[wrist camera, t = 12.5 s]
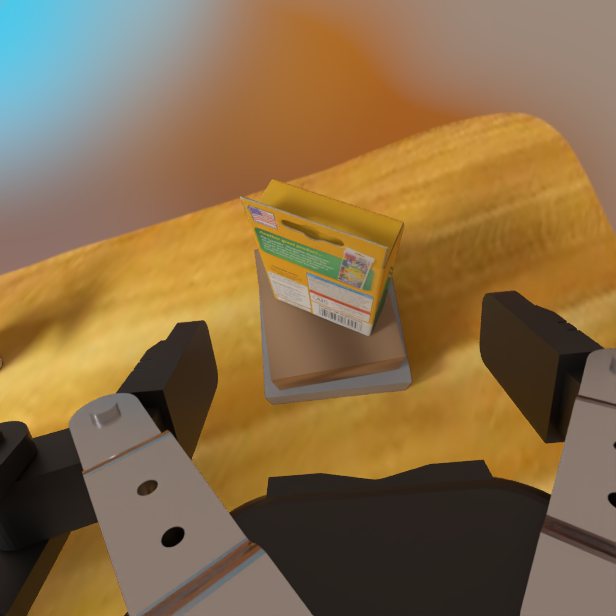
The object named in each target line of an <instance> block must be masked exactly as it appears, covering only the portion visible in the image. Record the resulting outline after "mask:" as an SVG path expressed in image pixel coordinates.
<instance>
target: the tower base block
mask: <svg viewBox="0 0 616 616" xmlns="http://www.w3.org/2000/svg"><path fill="white" fill-rule="evenodd" d="M388 291H389V295H390V299H391V303H392V307H393V311H394V314H395V318H396V322H397V326H398V330H399V334H400V338H401V341H402V345H403V349H404V353H405V358H404V360H403V361H402V363H401V365H400V366H399V368H398V370H393V371H387V372H382V373H376V374H371V375H365V376H359V377H354V378H348V379H342V380H337V381H331V382H326V383H320V384H314V385H309V386H303V387H297V388H292V389H286V390H281V391H279V389H278V388H277V387H276V386H275V384H274V383H273V382H272V381H271V375H270V367H269V360H268V352H267V344H266V336H265V329H264V321H263V313H262V305H261V298H260V314H261V332H262V350H263V369H264V387H265V398H266V399H267V400H268V401H269V402H270V403H271V404H272V405H273V404H282V403H291V402H301V401H310V400H319V399H328V398H338V397H347V396H356V395H365V394H375V393H384V392H393V391H402V390H406V389H407V387H408V386H409V385H410V384H411V382H412V379H411V374H410V368H409V363H408V358H407V353H406V347H405V342H404V337H403V332H402V326H401V321H400V316H399V311H398V305H397V300H396V295H395V290H394V285H393V279H392V275H391V279H390V283H389V288H388ZM259 295H260V290H259Z"/></svg>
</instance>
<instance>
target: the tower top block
mask: <svg viewBox="0 0 616 616" xmlns="http://www.w3.org/2000/svg"><path fill="white" fill-rule="evenodd" d="M254 251H255V259H256V267H257V274H258V282H259V290H260V298H261V305H262V313H263V321H264V329H265V336H266V344H267V352H268V360H269V367H270V375H271V381H272V382H273V383H274V384H275V386H276V387H277V388H278V389H279V391H281V390H286V389H292V388H297V387H303V386H309V385H314V384H320V383H326V382H331V381H337V380H342V379H348V378H354V377H359V376H365V375H371V374H376V373H382V372H387V371H393V370H398V368H399V366H400V365H401V363H402V361H403V360H404V358H405V353H404V349H403V345H402V341H401V338H400V334H399V330H398V326H397V322H396V318H395V314H394V311H393V307H392V303H391V299H390V295H389V291H388V292H387V296H386V299H385V303H384V306H383V308H382V311H381V313H380V315H379V318H378V320H377V322H376V325H375V327H374V329H373V332H372V333H371V335H370V336H366V335H364V334H362V333H360V332H357V331H354V330H352V329H349V328H347V327H344V326H342V325H339V324H337V323H334V322H332V321H329V320H327V319H324V318H322V317H320V316H317V315H315V314H313V313H310V312H308V311H305V310H303V309H300V308H298V307H295V306H293V305H290V304H288V303H285V302H282V301H280V300H277V299H276V298H275V296H274V293H273V290H272V287H271V284H270V282H269V279H268V276H267V272H266V270H265V267H264V264H263V261H262V258H261V255H260V252H259V250H258V249H256V250H254Z"/></svg>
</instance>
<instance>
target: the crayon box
mask: <svg viewBox="0 0 616 616" xmlns="http://www.w3.org/2000/svg"><path fill="white" fill-rule="evenodd" d="M240 199H241V201H242V204H243V207H244V210H245V213H246V215H247V217H248V221H249V224H250V227H251V229H252V232H253V235H254V238H255V241H256V244H257V246H258V250H259V252H260V255H261V258H262V261H263V264H264V267H265V270H266V272H267V276H268V279H269V282H270V284H271V287H272V290H273V293H274V296H275V298H276V299H277V300H280V301H282V302H285V303H288V304H290V305H293V306H295V307H298V308H300V309H303V310H305V311H308V312H310V313H313V314H315V315H317V316H320V317H322V318H324V319H327V320H329V321H332V322H334V323H337V324H339V325H342V326H344V327H347V328H349V329H352V330H354V331H357V332H360V333H362V334H364V335H366V336H370V335H371V333H372V332H373V329H374V327H375V325H376V322H377V320H378V318H379V315H380V313H381V311H382V308H383V306H384V303H385V299H386V296H387V292H388V288H389V283H390V279H391V275H392V271H393V268H394V264H395V260H396V256H397V252H398V248H399V244H400V240H401V236H402V232H403V228H404V223H403V222H402V221H399V220H396V219H393V218H390V217H387V216H384V215H381V214H377V213H375V212H371V211H369V210H366V209H363V208H360V207H357V206H354V205H351V204H347V203H344V202H342V201H339V200H335V199H332V198H330V197H326V196H323V195H320V194H317V193H314V192H311V191H308V190H305V189H302V188H299V187H296V186H293V185H290V184H287V183H283V182H280V181H277V180H271V182H270V184H269V186H268V187H267V189H266V190H265V192H264V194H263V195H262V197H261V199H260V200H259V202H257V201H254V200H252V199H249V198H245V197H242V196H240Z"/></svg>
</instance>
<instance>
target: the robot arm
mask: <svg viewBox="0 0 616 616" xmlns="http://www.w3.org/2000/svg"><path fill="white" fill-rule="evenodd" d="M480 353H481V357H482V360H483V362H484V364H485V366H486V367H487V368H488V369H489V371H490V372H491V373H492V375H493V376H494V377H495V379H496V380H497V381H498V382H499V384H500V385H501V386H502V388H503V389H504V390H505V391H506V393H507V394H508V395H509V397H510V398H511V399H512V401H513V402H514V403H515V404H516V406H517V407H518V408H519V410H520V411H521V412H522V414H523V415H524V416H525V417H526V419H527V420H528V421H529V423H530V424H531V425H532V427H533V428H534V429H535V430H536V432H537V433H538V434H539V436H540V437H541V438H542V440H543V441H544V442H545V443H556V442H565V443H564V447H563V451H562V455H561V459H560V463H559V467H558V471H557V475H556V479H555V483H554V487H553V491H552V495H550V494H548V493H546V492H544V491H542V490H539V489H537V488H534V487H532V486H529V485H526V484H523V483H519V482H516V481H512V480H508V479H503V478H497V477H492V475H491V473H490V471H489V469H488V467H487V465H486V464H485V462H484V460H475V461H462V462H450V463H438V464H429V465H426V466H422V467H419V468H416V469H412V470H409V471H406V472H402V473H399V474H396V475H393V476H389V477H386V478H383V479H377V480H373V479H364V478H356V477H348V476H340V475H331V474H323V473H316V474H304V475H292V476H280V477H269V478H268V487H267V495H264V496H261V497H258V498H256V499H254V500H251V501H249V502H247V503H245V504H243V505H241V506H239V507H237V508H236V509H234V510H233V511H231V512H230V513H228V511H227V510H226V508H225V507H224V506H223V504H222V503H221V501H220V500H219V499H218V497H217V496H216V495H215V493H214V492H213V490H212V489H211V488H210V486H209V485H208V483H207V482H206V481H205V479H204V478H203V476H202V475H201V474H200V472H199V471H198V470H197V468H196V467H195V465H194V464H193V463H192V461H191V459H192V456H193V454H194V451H195V448H196V445H197V442H198V439H199V437H200V434H201V431H202V428H203V425H204V422H205V420H206V417H207V414H208V411H209V408H210V405H211V403H212V400H213V397H214V394H215V391H216V388H217V383H218V373H217V366H216V362H215V357H214V353H213V348H212V344H211V339H210V335H209V330H208V327H207V324H206V322H205V321H203V320H202V321H192V322H182V323H177V324H176V326H175V327H174V329H173V330H172V332H171V333H170V335H169V336H168V338H167V339H166V340H164V341H160V342H158V343H157V344H156V345H154V346H153V347H151V348H150V349H149V350H147V352H146V353H145V354H144V356H143V357H142V358H141V360H140V362H139V363H138V364H137V365H136V367H135V368H134V371H132V372H131V373H130V375H129V376H128V377H127V379H126V380H125V382H124V383H123V384H122V386H121V387H120V388H119V390H118V391H117V392H116V394H111V395H107V396H103V397H101V398H98V399H96V400H94V401H91V402H90V403H88V404H86V405H85V406H83V407H82V408H80V409H79V410H78V411H77V412H76V413H75V414H74V415H73V416H72V418H71V419H70V422H69V428H67V429H64V430H61V431H57V432H53V433H50V434H46V435H43V436H39V437H36V438H32V436H31V434H30V431H29V429H28V427H27V425H26V424H25V423H23V422H19V421H9V422H3V423H0V616H27V614H28V612H29V610H30V608H31V606H32V604H33V602H34V601H35V599H36V597H37V595H38V593H39V591H40V589H41V587H42V585H43V584H44V582H45V580H46V578H47V576H48V574H49V572H50V570H51V568H52V566H53V565H54V563H55V561H56V559H57V557H58V555H59V553H60V551H61V549H62V548H63V546H64V544H65V542H66V540H67V538H68V536H69V534H70V532H71V531H73V530H76V529H79V528H82V527H85V526H88V525H91V524H94V523H97V522H99V525H100V528H101V531H102V535H103V538H104V541H105V544H106V547H107V550H108V553H109V556H110V559H111V562H112V565H113V568H114V571H115V574H116V577H117V580H118V583H119V586H120V589H121V592H122V595H123V598H124V601H125V604H126V607H127V610H128V612H127V613H126V614H125V615H124V616H616V349H611V348H609V349H605V348H603V347H602V346H600V345H599V344H598V343H596V342H595V341H594V340H592V339H591V338H589V337H588V336H587V335H585V334H584V333H582V332H581V331H580V330H577V328H576V327H574V326H573V325H571V324H570V323H567V321H566V320H564V319H563V318H562V317H560V316H559V315H558V314H556V313H555V312H553V311H550V310H547V309H545V308H542V307H539V306H537V305H534V304H532V303H531V302H530V301H528V300H527V299H526V298H524V297H523V296H522V295H520V294H519V293H518V292H516V291H505V292H494V293H487V294H485V296H484V298H483V302H482V315H481V329H480Z"/></svg>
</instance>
